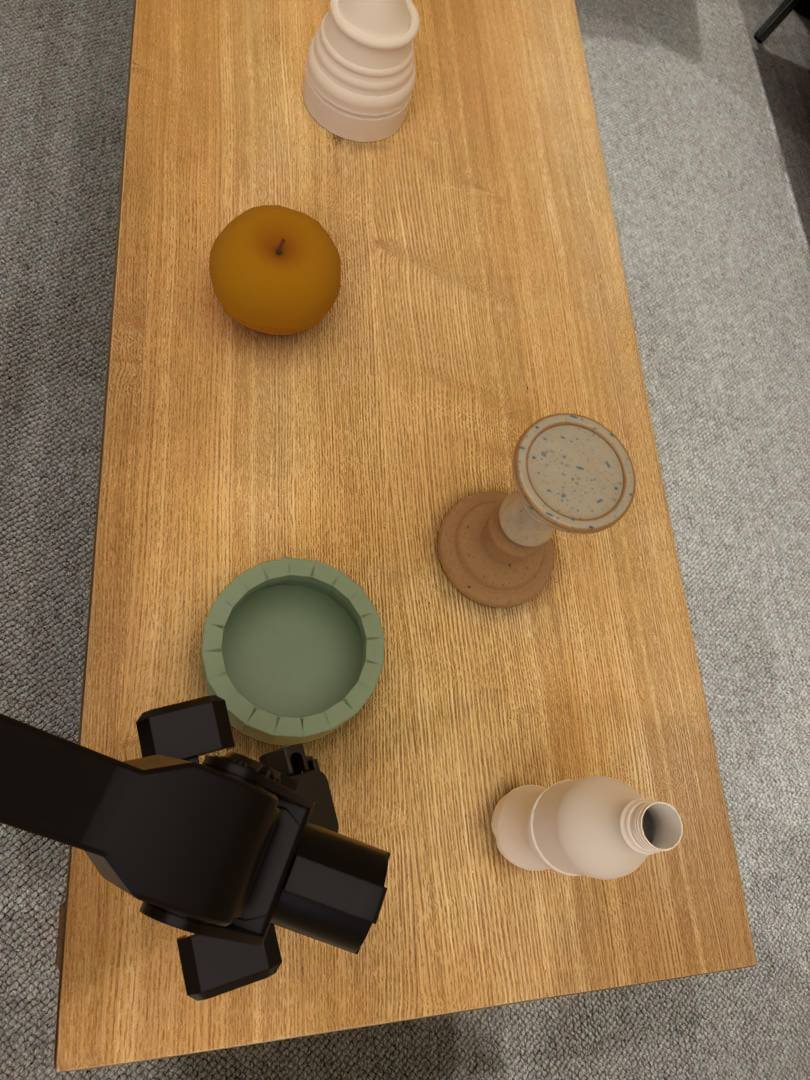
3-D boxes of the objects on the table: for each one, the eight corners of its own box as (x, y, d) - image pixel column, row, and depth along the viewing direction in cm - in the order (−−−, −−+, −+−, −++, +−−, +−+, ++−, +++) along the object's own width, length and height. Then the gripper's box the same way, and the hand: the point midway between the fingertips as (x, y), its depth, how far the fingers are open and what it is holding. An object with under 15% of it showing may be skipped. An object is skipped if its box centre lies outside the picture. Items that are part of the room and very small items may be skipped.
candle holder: (430, 494, 83) (494, 398, 65) (541, 495, 86) (632, 403, 68) (442, 611, 79) (514, 544, 61) (559, 607, 82) (661, 542, 64)
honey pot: (427, 110, 101) (470, -31, 84) (358, 159, 96) (390, 19, 79) (351, 44, 102) (379, -108, 85) (280, 89, 97) (294, -63, 80)
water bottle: (546, 881, 73) (701, 904, 50) (473, 852, 72) (597, 863, 49) (566, 802, 76) (722, 791, 53) (497, 774, 75) (624, 750, 52)
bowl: (222, 765, 70) (224, 759, 64) (187, 599, 74) (185, 578, 68) (388, 720, 75) (405, 710, 68) (346, 566, 79) (358, 542, 72)
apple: (346, 351, 87) (365, 285, 76) (226, 373, 83) (229, 306, 72) (310, 252, 90) (324, 176, 79) (194, 268, 86) (192, 190, 75)
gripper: (375, 958, 48) (336, 929, 63) (300, 658, 53) (280, 694, 68) (186, 1027, 45) (191, 980, 59) (125, 700, 50) (143, 729, 64)
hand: (207, 837), depth 63 cm, fingers closed on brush, 2 cm apart
